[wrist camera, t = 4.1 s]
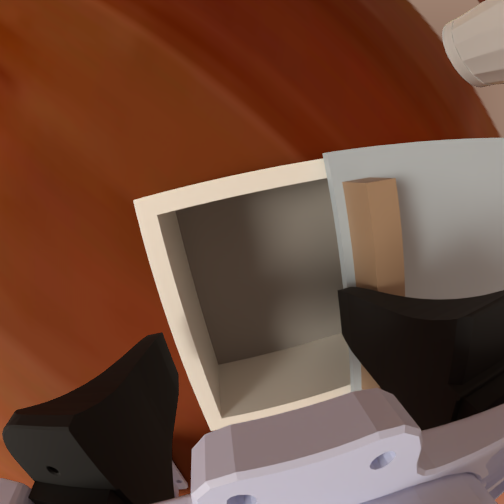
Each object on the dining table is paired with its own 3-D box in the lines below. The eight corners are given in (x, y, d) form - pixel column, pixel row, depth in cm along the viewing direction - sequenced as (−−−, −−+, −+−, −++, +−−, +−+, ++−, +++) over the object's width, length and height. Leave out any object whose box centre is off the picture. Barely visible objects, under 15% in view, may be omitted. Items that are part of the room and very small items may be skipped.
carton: (445, 298, 21) (494, 327, 16) (209, 369, 20) (210, 430, 14) (435, 145, 18) (495, 141, 13) (159, 193, 17) (133, 200, 11)
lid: (504, 326, 15) (528, 341, 13) (351, 401, 15) (369, 431, 12) (506, 137, 12) (537, 137, 10) (322, 153, 12) (348, 148, 9)
